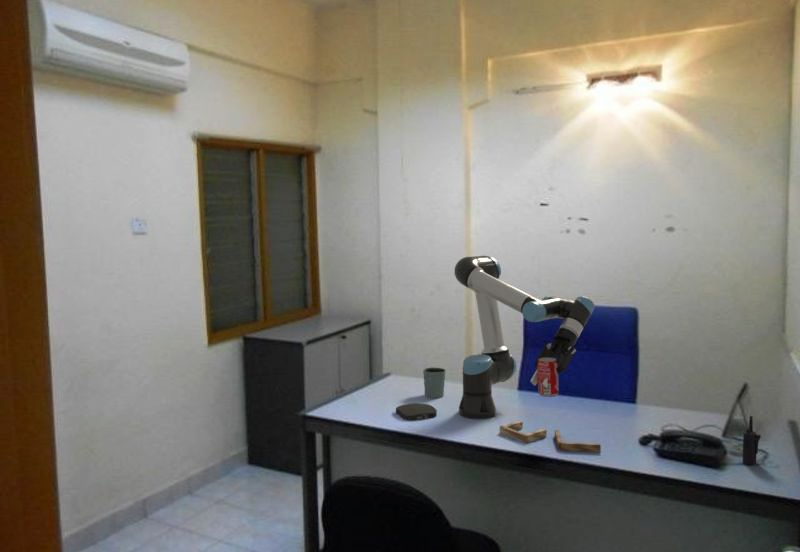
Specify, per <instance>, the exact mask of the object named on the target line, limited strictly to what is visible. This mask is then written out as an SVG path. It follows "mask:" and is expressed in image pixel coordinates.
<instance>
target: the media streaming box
mask: <svg viewBox="0 0 800 552" xmlns="http://www.w3.org/2000/svg"><path fill="white" fill-rule="evenodd" d="M437 411H438V410H437V409H436V408H435V407H434V406H432V405H431V404H427V403H419V402H415V403H414V402H413V403H412V402H411V403H406V404H401V405H398V406H396V408H395V413H396V415H398V416H399V417H400V418H401V419H403V420H406V421H418V420H426V419H427V420H429V419H434V418H435V417H437V413H438V412H437Z"/></svg>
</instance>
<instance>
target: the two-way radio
mask: <svg viewBox="0 0 800 552" xmlns="http://www.w3.org/2000/svg"><path fill="white" fill-rule="evenodd" d="M753 421H754V420H753V416H752V415H750V416H749V424H748V428H746V431H745V432H743V436H742V437H743V439H742V441H743V442H742V463H743V464H746V465H754V464H756V463H757V455H758V452H759V442H760V439H761V437H762V436H761V434H757V432H755V431H753V430H754V429H753V428H754V427H753V425H754V424H753V423H754V422H753Z"/></svg>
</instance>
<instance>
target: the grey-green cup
mask: <svg viewBox="0 0 800 552" xmlns="http://www.w3.org/2000/svg"><path fill="white" fill-rule="evenodd" d="M446 371H447V370H446V369H445V368H443V367H426V368H423V370H422V373H423V387H424V396H425V398H430V399H440V398H443V397H444V394H445V393H444V392H445V380H446Z"/></svg>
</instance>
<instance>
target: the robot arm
mask: <svg viewBox="0 0 800 552" xmlns="http://www.w3.org/2000/svg"><path fill="white" fill-rule="evenodd" d="M501 273H502V268H501V266H500V263H499V261H498V260H497V259H495V258H494V257H493V256H489V255H478V256H465V257H463V258H460V259H459V260H458V261H457V262H456V264H455V266H454V277H455V278H456V281H457V282H458V283H460V284H461V285H463V286H464V287H465V288H468V289H469V290H471V291H473V292H474V294H475V299H476V306H477V312H478V319H479V323H480V331H481V335H482V342H483V350H481V353H479V354H472V355H469V356H467V357H466V358H464V359H463V363H462V397H461V400H460V402H459V403H460V404H459V406H458V415H460V416H462V417H464V418H467V419H474V420H481V419H482V420H483V419H484V420H485V419H490V418H493V417H495V416H496V415H497V407H496V405H495V402H494V399H493V396H492V393H493V392H492V391H493V389H492V386H493V385H496V384H499V383H503V382H506V381H508V380H510V379H512V378H513V377H514V375H515V374H516V371H517V361H516V359H515V357H514V355H513V354H511V353H510V351H509V350H510V349H509V348H508V347H507V346H506V345H505V343H504V342H505V341H504V335H503V331H502V330H503V329H502V324H501V318H500V311H499V305H498V302H499V303H501V304H503V305H506V306H508V307H509V308H511V309H513V310H515V311H517V312H518V313H520V314H522V315H523V317H524V319H525V321H527V322H530V323H538V322H542V321H546V320H551V319H552V320H553V319H560V320H561V319H562V320H563V321H562V322H561V325H560V326H559V328H558V329H557V331H556V333H555V334H554V339H553V341H552V342H551V343H547V342H544V344H543V346H542V349H541V350H540V352H539V354H538V356H537V358H536V359H535V361H534V362H533V363H534V365H535V367H536V368H535V369H534V372H533V376H532V377H531V379H530V383H531V384H532V385H533V386H535V387H536V385H538V369H537V363H538V361H539V358H555V359H556V361H557V363H558V368H557V374H558V375H559V373H562V374H564V373H565V371H566V369H567V368H568V366H569V364H570V363H571V360H572V359H573V357H574V356H575V355H576V353H577V352H578V351H577V349H576V348H575V347H574V345H576V342H577V341H578V339H579V337H580V335H581V333H582V331H583V330H584V329H585V326H586V325H587V322H588V321H589V319H590V317H592V314H593V312H594V310H595V307H596V305H595V304H594V301H592V300H591V299H590V298H588V297H587V296H577V297H576V299H575V300H568V299H564V298H561V297H560V298H559V297H556V296H549V295H545V296H544V297H543V298H542V299H538V298H536V297H534V296H532V295H530V294H528V293H526V292H524V291H522V290H520V289H518V288H517V287H515V286H512V285H510V284H508V283H506V282H504V280H503V281H502V280H500V276H501ZM552 378H553V377H552ZM542 384H543V385H544V386H545V387H546V388H548V383H547V379H545V380H544V382H543V383H542Z"/></svg>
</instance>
